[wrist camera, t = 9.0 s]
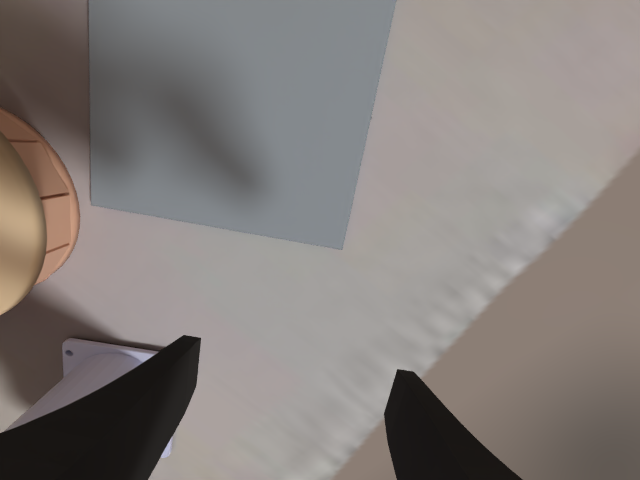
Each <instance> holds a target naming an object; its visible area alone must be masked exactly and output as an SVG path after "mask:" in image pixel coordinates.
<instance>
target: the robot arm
mask: <svg viewBox="0 0 640 480" xmlns="http://www.w3.org/2000/svg"><path fill="white" fill-rule="evenodd" d="M200 343H201V338H198V337H192V336H186V335H183V336H182V337H180V338H179V339H177V340H176V341H174V342H173V343H171V344H170V345H168V346H167V347H165V348H164V349H163V350H161V351H160V352H158V351H152V350H145V349H139V348H132V347H126V346H119V345H113V344H107V343H100V342H94V341H87V340H81V339H74V338H69V339H67V340H66V341H64V342H63V344H62V354H63V377H64V378H63V379H62V380H61V381H59V382H58V383H57V384H56V385H55V386H54V387H53V388H52V389H51V390H49V391H48V392H47V393H46V394H45V395H44V396H43V397H42V398H40V399H39V400H38V401H37V402H36V403H35V404H34V405H33V406H32V407H30V408H29V409H28V410H27V411H26V412H25V413H24V414H23V415H21V416H20V417H19V418H18V419H17V420H16V421H15V422H14V423H13V424H11V425H10V426H9V427H8V428H7V429H6V430H5V431H4V432H2V433H0V480H148V478H149V477H150V475H151V473H152V471H153V470H154V468H155V466H156V464H157V462H158V461H159V459H160V457H163V458H165V457H168V456H169V455H170V453H171V450H172V437H173V434H174V432H175V430H176V428H177V427H178V425H179V423H180V421H181V419H182V418H183V416H184V414H185V412H186V409H187V407H188V405H189V402H190V400H191V397H192V395H193V393H194V390H195V388H196V384H197V374H198V364H199V353H200ZM70 350H71V351H72V352H73V353H72V352H71V351H70ZM384 417H385V425H386V433H387V440H388V446H389V450H390V453H391V458H392V461H393V466H394V470H395V474H396V478H397V480H522V479H521V478H520V477H519V476H518V475H516V474H515V473H514V472H512V471H511V470H510V469H509V468H508V467H507V466H506V465H505V464H503V463H502V462H501V461H500V460H499V459H498V458H497V457H495V456H494V455H493V454H492V453H491V452H490V451H489V450H488V449H487V448H485V446H483V445H482V444H481V443H480V442H479V441H478V440H477V439H476V438H475V437H474V436H473V435H472V434H471V433H470V432H469V431H468V430H467V429H466V428H465V427H464V426H463V425H462V424H461V423H460V422H459V421H458V420H457V419H456V417H455V416H454V415H453V414H452V413H451V412H450V411H449V410H448V409H447V408H446V407H445V406H444V405H443V403H442V402H441V401H440V400H439V399H438V398H437V397H436V396H435V395H434V393H433V392H432V391H431V390H430V389H429V388H428V387H427V386H426V385H425V383H424V382H423V381H422V380H421V379H420V378H419V377H418V376H417V375H416V374H415V373H414V372H412V371H406V370H399V369H397V372H396V376H395V379H394V382H393V386H392V389H391V392H390V396H389V399H388V402H387V406H386V409H385V412H384Z"/></svg>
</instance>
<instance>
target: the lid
mask: <svg viewBox="0 0 640 480" xmlns="http://www.w3.org/2000/svg"><path fill="white" fill-rule="evenodd" d="M46 247H47V227H46V219H45V214H44V209H43V205H42V202H41V199H40V196H39V192H38V189H37V187H36V185H35V183H34V181H33V178H32V176H31V174H30V172H29V170H28V168H27V167H26V165H25V164H24V162H23V160H22V159H21V157H20V155H19V154H18V152H17V151H16V150H15V148H14V147H13V146H12V144H11V143H10V142H9V140H8V139H7V138H6V137H5V135H4V134H3V133H2V132H1V131H0V315H1V314H3V313H5V312H7V311H9V310H10V309H12V308H13V307H14V306H16V305H17V304H18V303H20V302H21V301H22V300H23V299H24V298H25V296H26V295H27V294H28V293H29V292H30V291H31V289H32V288H33V286H34V285H35V283H36V281H37V279H38V277H39V275H40V273H41V270H42V268H43V264H44V260H45V256H46Z"/></svg>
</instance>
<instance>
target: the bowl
mask: <svg viewBox="0 0 640 480" xmlns="http://www.w3.org/2000/svg"><path fill="white" fill-rule="evenodd" d="M0 131H1V132H2V133H3V134H4V135H5V137H6V138H7V139H8V140H9V142H10V143H11V144H12V146H13V147H14V148H15V150H16V151H17V152H18V154H19V155H20V157H21V159H22V160H23V162H24V164H25V165H26V167H27V168H28V170H29V172H30V174H31V176H32V178H33V181H34V183H35V185H36V187H37V189H38V192H39V196H40V199H41V202H42V205H43V209H44V214H45V219H46V227H47V247H46V256H45V260H44V264H43V268H42V270H41V273H40V275H39V277H38V279H37V281H36V283H35V285H36V284H38V283H40V282H42V281H44V280H46V279H47V278H48V277H49V276H50V275H51V274H53V273H54V272H56V271H57V270H58V269H59V268H60V267H61V266H62V265H63V264H64V263H65V262H66V260H67V259H68V258H69V256H70V254H71V253H72V251H73V249H74V246H75V244H76V241H77V238H78V233H79V228H80V210H79V202H78V198H77V193H76V190H75V187H74V184H73V181H72V179H71V177H70V175H69V173H68V171H67V169H66V167H65V165H64V164H63V162H62V160H61V159H60V157H59V156H58V154H57V153H56V152H55V150H54V149H53V148H52V147H51V145H50V144H49V143H48V142H47V141H46V140H45V139H44V138H43V137H42V136H41V135H40V134H39V133H38V132H37V131H36V130H35V129H33V128H32V127H31V126H30V125H29V124H27V123H26V122H24V121H23V120H22V119H20V118H19V117H17V116H16V115H14V114H12V113H10V112H8V111H6V110H4V109H3V108H1V107H0Z"/></svg>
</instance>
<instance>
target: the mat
mask: <svg viewBox="0 0 640 480" xmlns="http://www.w3.org/2000/svg"><path fill="white" fill-rule="evenodd" d="M395 4H396V0H89V82H90V168H91V205H92V206H98V207H104V208H109V209H115V210H121V211H126V212H132V213H137V214H143V215H149V216H154V217H160V218H165V219H171V220H177V221H182V222H188V223H194V224H199V225H205V226H210V227H216V228H222V229H227V230H233V231H238V232H244V233H250V234H255V235H261V236H267V237H272V238H278V239H283V240H289V241H295V242H300V243H306V244H311V245H317V246H323V247H328V248H334V249H340V250H342V249H343V244H344V240H345V235H346V230H347V226H348V221H349V217H350V212H351V207H352V203H353V198H354V194H355V189H356V184H357V180H358V175H359V171H360V166H361V161H362V157H363V152H364V147H365V143H366V138H367V134H368V129H369V124H370V120H371V115H372V111H373V106H374V101H375V97H376V92H377V87H378V83H379V78H380V74H381V69H382V64H383V60H384V55H385V51H386V46H387V41H388V37H389V32H390V28H391V23H392V18H393V14H394V9H395Z"/></svg>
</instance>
